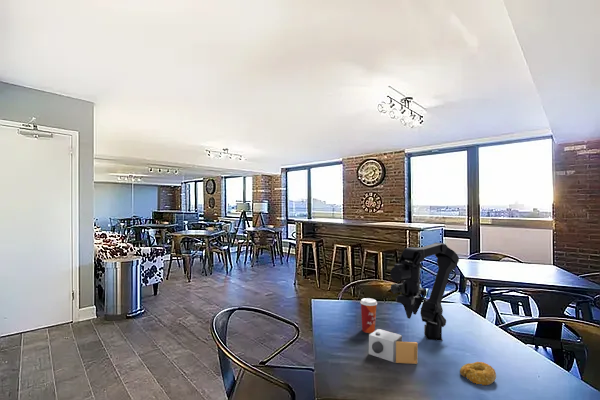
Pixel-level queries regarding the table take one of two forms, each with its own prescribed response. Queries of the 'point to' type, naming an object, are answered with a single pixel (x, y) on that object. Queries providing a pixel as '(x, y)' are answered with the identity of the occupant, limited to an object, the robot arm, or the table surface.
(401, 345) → the side door
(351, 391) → the table surface
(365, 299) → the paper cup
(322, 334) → the table surface
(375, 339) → the white block
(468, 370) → the bagel
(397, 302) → the robot arm
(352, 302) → the table surface
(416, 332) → the table surface
